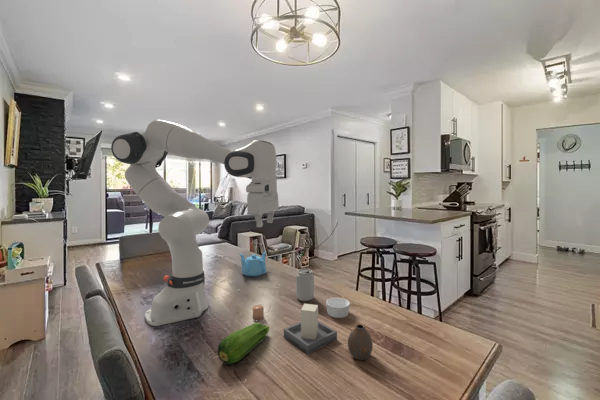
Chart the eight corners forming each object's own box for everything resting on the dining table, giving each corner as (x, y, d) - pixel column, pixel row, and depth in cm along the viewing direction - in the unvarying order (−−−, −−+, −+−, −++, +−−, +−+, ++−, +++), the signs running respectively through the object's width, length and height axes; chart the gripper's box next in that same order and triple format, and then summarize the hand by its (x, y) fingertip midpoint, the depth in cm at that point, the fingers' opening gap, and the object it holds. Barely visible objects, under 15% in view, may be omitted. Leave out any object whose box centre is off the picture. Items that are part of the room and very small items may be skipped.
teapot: (268, 277, 147) (268, 257, 146) (239, 279, 144) (238, 259, 143) (266, 268, 161) (266, 250, 160) (239, 270, 158) (239, 252, 157)
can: (312, 302, 116) (312, 274, 115) (294, 301, 117) (294, 273, 116) (315, 295, 123) (315, 268, 122) (298, 294, 125) (298, 267, 124)
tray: (307, 354, 82) (307, 345, 82) (283, 336, 91) (283, 329, 91) (336, 339, 89) (336, 331, 89) (311, 324, 99) (311, 317, 99)
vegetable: (216, 336, 76) (263, 308, 94) (209, 355, 78) (255, 324, 96) (235, 356, 73) (279, 322, 90) (226, 375, 75) (271, 339, 93)
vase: (345, 349, 84) (345, 320, 83) (367, 348, 85) (368, 319, 84) (351, 364, 77) (351, 333, 77) (375, 362, 78) (376, 332, 77)
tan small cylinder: (256, 321, 101) (256, 310, 101) (250, 317, 104) (250, 307, 104) (265, 318, 103) (265, 307, 103) (260, 314, 106) (259, 303, 106)
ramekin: (351, 309, 110) (351, 299, 109) (347, 320, 101) (347, 309, 101) (329, 306, 112) (329, 296, 112) (323, 317, 104) (323, 305, 104)
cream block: (315, 339, 88) (315, 311, 87) (301, 337, 89) (300, 309, 88) (318, 332, 92) (318, 305, 91) (304, 330, 93) (304, 303, 92)
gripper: (267, 185, 112) (267, 220, 113) (243, 187, 92) (244, 229, 93) (282, 185, 110) (282, 220, 111) (261, 187, 91) (262, 230, 92)
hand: (265, 224), depth 102 cm, fingers open, 8 cm apart
